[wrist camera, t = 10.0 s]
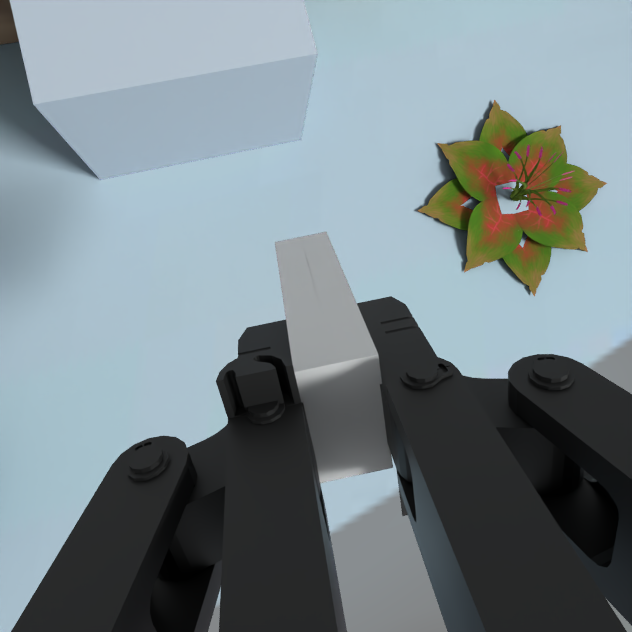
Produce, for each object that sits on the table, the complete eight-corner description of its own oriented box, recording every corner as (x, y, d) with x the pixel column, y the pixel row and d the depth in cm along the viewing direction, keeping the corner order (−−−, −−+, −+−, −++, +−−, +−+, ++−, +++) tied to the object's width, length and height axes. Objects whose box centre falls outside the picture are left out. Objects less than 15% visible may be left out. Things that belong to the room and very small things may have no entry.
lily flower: (629, 182, 34) (686, 154, 29) (536, 330, 32) (581, 325, 28) (483, 74, 34) (518, 29, 29) (381, 218, 32) (401, 194, 27)
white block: (269, 17, 32) (273, -116, 23) (301, 140, 31) (317, 53, 22) (70, 50, 30) (-9, -78, 21) (100, 180, 30) (33, 104, 21)
